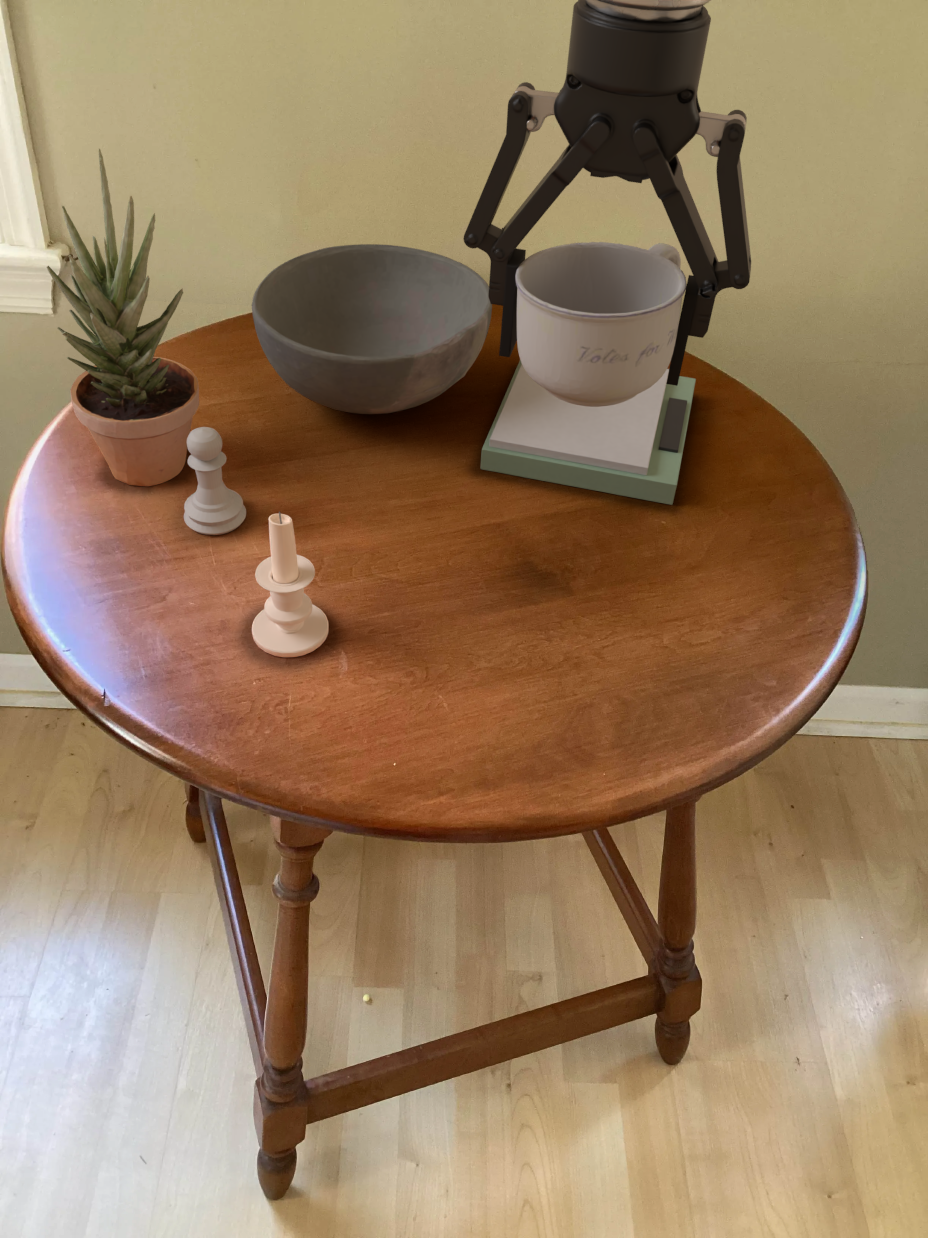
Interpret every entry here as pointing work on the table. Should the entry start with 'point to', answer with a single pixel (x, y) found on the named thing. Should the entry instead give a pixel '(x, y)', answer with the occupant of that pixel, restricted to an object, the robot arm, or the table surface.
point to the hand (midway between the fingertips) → (590, 360)
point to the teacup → (598, 319)
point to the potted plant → (126, 358)
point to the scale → (593, 439)
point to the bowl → (371, 325)
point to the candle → (287, 597)
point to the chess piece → (211, 487)
